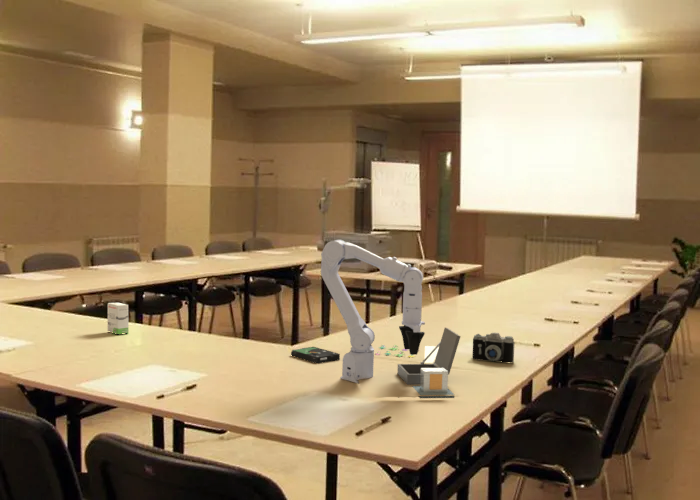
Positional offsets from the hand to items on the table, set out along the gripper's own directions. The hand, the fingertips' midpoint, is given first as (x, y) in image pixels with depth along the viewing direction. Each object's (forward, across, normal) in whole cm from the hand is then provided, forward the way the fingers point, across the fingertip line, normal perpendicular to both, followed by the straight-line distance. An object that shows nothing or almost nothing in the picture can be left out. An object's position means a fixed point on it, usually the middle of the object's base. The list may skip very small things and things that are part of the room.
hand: (410, 351), depth 233 cm
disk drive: (+10, +36, +26) cm, 45 cm away
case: (+9, +1, -6) cm, 11 cm away
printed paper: (+10, +45, -5) cm, 47 cm away
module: (+8, -14, -4) cm, 17 cm away
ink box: (+10, +82, +99) cm, 129 cm away
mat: (+9, -14, -4) cm, 17 cm away
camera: (+10, +29, -36) cm, 47 cm away
